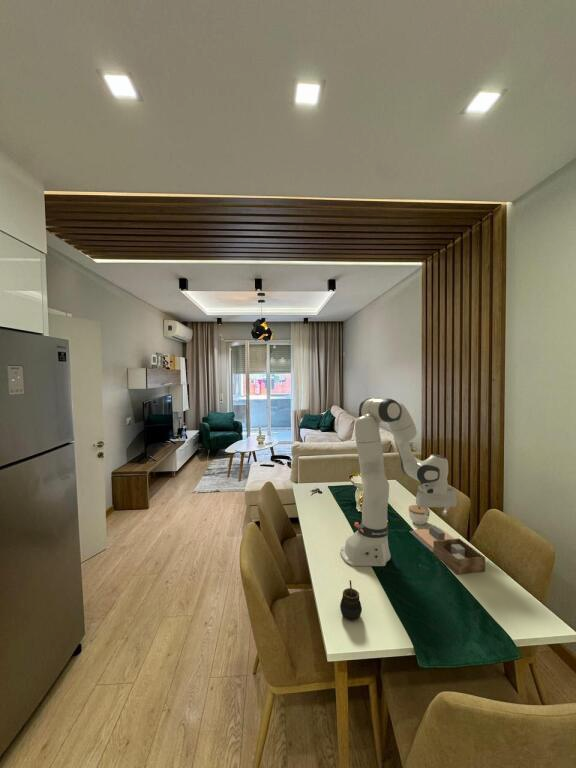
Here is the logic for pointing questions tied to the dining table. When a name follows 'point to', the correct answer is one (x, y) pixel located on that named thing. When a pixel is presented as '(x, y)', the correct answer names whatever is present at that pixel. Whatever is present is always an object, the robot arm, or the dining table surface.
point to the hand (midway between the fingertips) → (435, 515)
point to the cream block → (458, 556)
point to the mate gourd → (350, 604)
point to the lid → (432, 535)
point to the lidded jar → (418, 515)
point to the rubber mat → (423, 541)
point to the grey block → (457, 549)
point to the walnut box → (459, 566)
